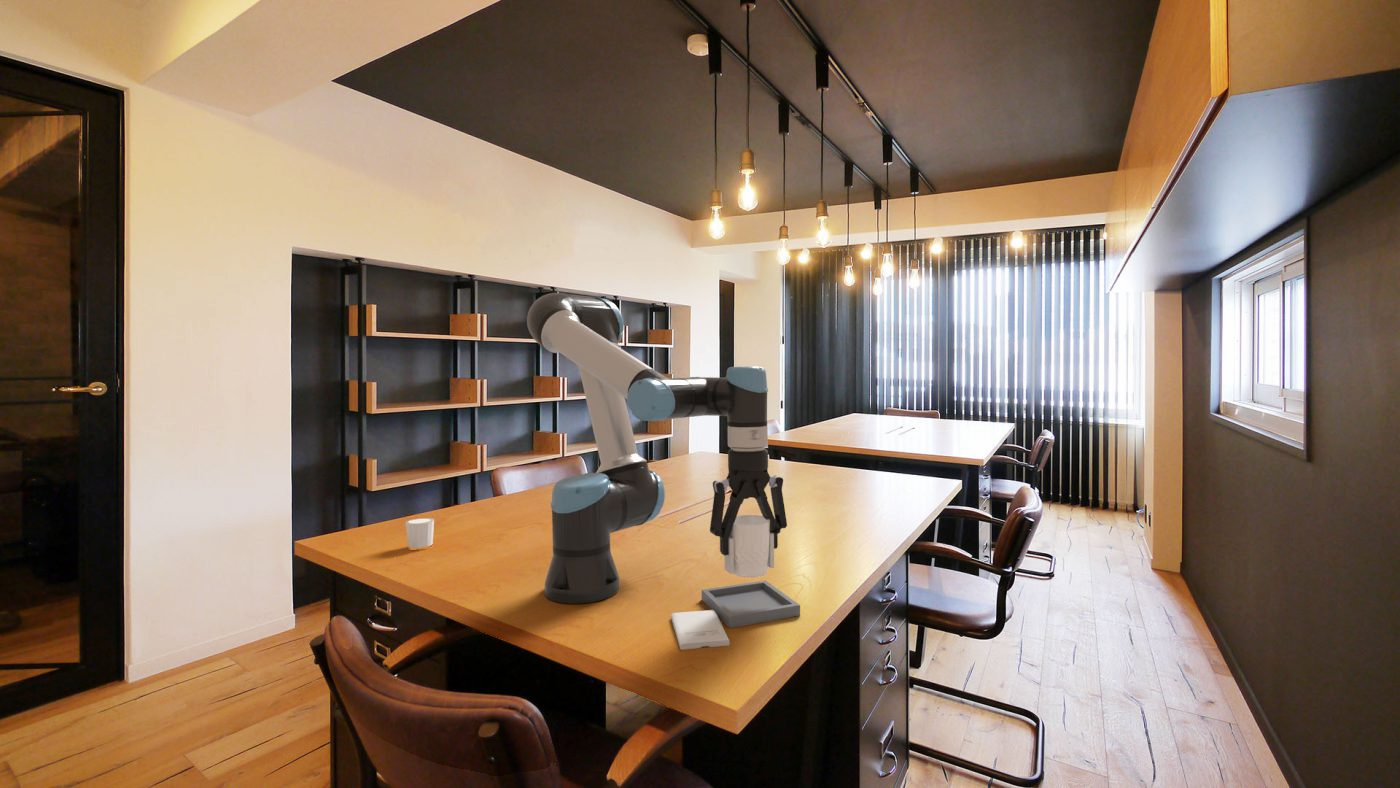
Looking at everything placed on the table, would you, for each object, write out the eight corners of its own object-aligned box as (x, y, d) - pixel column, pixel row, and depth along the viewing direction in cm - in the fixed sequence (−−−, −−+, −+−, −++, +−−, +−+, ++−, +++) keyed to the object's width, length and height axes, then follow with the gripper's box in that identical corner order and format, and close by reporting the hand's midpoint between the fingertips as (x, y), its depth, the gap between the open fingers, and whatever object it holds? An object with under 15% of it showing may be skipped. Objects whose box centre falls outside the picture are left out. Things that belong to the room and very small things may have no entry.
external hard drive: (715, 618, 111) (729, 648, 99) (671, 621, 110) (680, 653, 98) (715, 609, 111) (729, 639, 99) (671, 612, 110) (680, 643, 98)
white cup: (768, 580, 110) (768, 525, 109) (725, 577, 111) (725, 524, 111) (772, 566, 117) (771, 515, 117) (732, 564, 119) (731, 514, 119)
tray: (729, 627, 106) (729, 616, 106) (701, 599, 119) (701, 589, 119) (800, 615, 111) (800, 605, 111) (765, 590, 124) (765, 580, 124)
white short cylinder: (400, 550, 154) (399, 523, 154) (417, 543, 161) (416, 517, 160) (424, 551, 153) (423, 524, 153) (440, 544, 160) (439, 517, 159)
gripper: (704, 454, 106) (706, 582, 107) (805, 447, 114) (807, 567, 114) (689, 449, 114) (691, 569, 114) (786, 443, 121) (787, 556, 121)
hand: (749, 568), depth 114 cm, fingers closed on white cup, 8 cm apart
